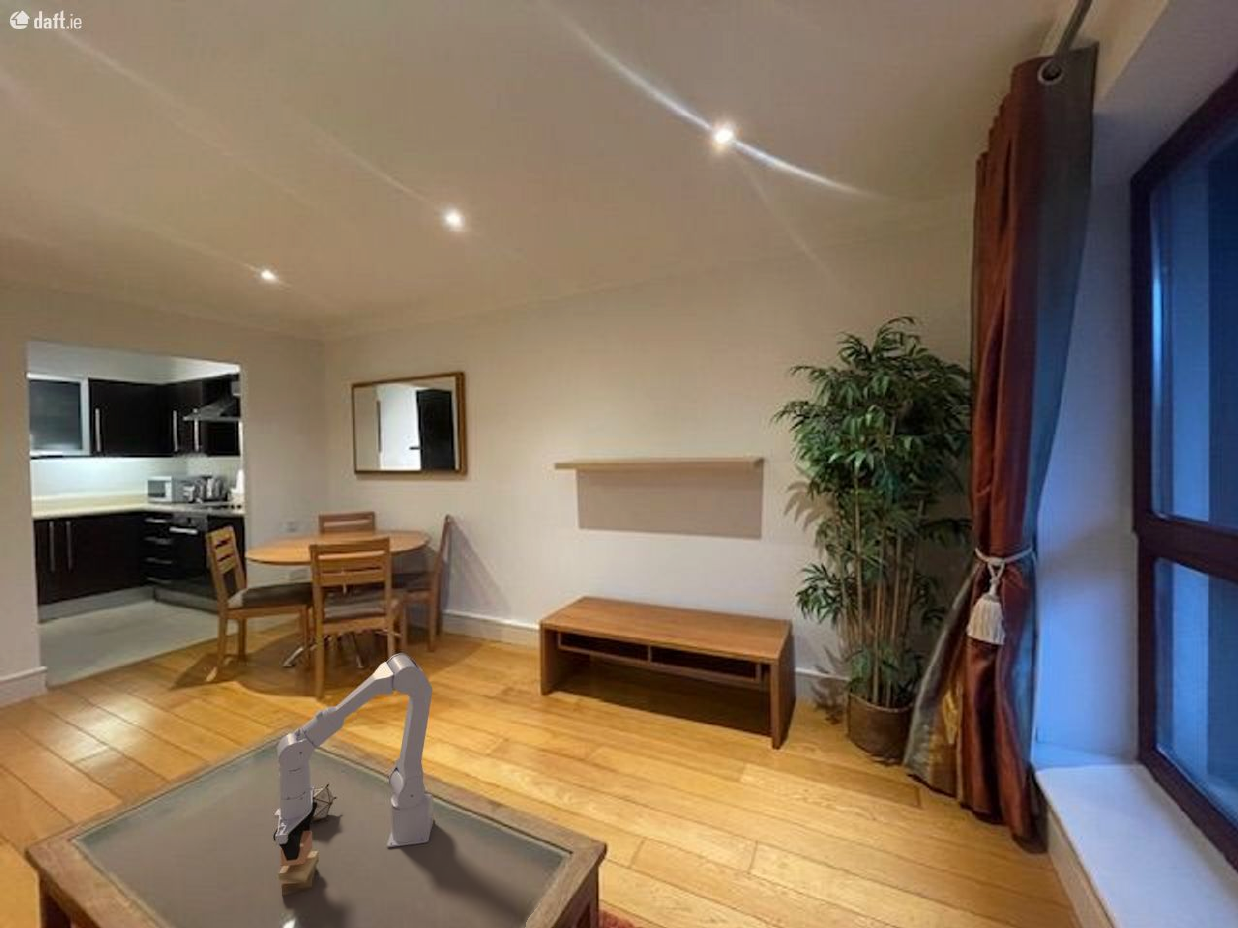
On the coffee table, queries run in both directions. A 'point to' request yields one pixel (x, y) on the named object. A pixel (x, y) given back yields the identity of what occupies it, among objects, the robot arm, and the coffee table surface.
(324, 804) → the game die
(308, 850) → the terracotta block
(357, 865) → the coffee table surface
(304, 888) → the walnut slab
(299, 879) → the oak slab
